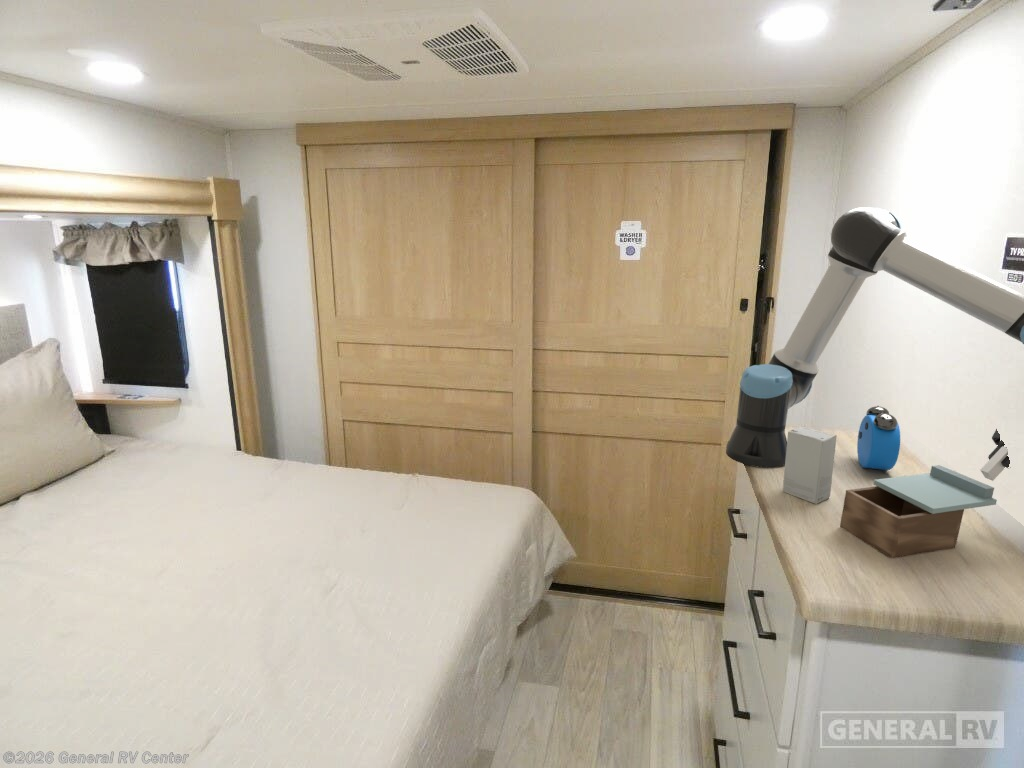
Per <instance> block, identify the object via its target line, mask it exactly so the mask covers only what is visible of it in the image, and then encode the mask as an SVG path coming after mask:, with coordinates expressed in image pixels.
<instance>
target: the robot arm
mask: <svg viewBox="0 0 1024 768" xmlns="http://www.w3.org/2000/svg"><path fill="white" fill-rule="evenodd" d="M830 242H831V245H832V246H831V249H830V250H829V252H828V254H827V259H828V261H829V266H828V268H827V269H826V271H825V273H824V275H823V277H822V278H821V280H820V282H819V284H818V286H817V287H816V289H815V290H814V293H813V295H812V296H811V298H810V301H809V303H808V304H807V306H806V308H805V310H804V311H803V313H802V315H801V316H800V318H799V321H798V322H797V324H796V326H795V327H794V329H793V331H792V333H791V334H790V337H789V339H788V340H787V342H786V344H785V345H784V347H783V348H782V349H778V350H775V351H774V352H773V355H772V357H771V358H770V360H769V362H768V363H767V364H766V363H763V364H754V365H751V366H749V367H746V368H745V370H744V371H742V375H741V378H740V382H739V384H740V387H739V395H738V396H739V397H738V405H737V414H736V415H737V416H736V424H735V427H734V429H733V431H732V433H731V436H730V437H729V440H728V442H727V443H726V449H725V453H726V456H727V457H728V458H730V459H731V460H733V461H735V462H737V463H740V464H744V465H746V466H751V467H756V466H758V468H780V467H785V459H786V449H787V436H786V427H787V419H788V411H789V409H790V408H792V407H793V406H795V405H797V404H799V403H801V402H802V401H803V400H805V399H806V398H807V397H808V395H809V393H810V392H811V389H812V387H813V381H814V380H815V378H816V376H817V374H818V373H819V366H818V365H817V363H818V361H819V359H820V357H821V355H822V353H824V350H825V349H826V347H827V345H828V343H829V342H830V340H831V338H832V336H833V335H834V333H835V332H836V330H837V328H838V327H839V325H840V323H841V321H842V320H843V317H844V316H845V315H846V313H847V311H848V310H849V307H850V306H851V304H852V302H853V301H854V299H855V298H856V296H857V294H858V293H859V291H860V289H861V287H862V285H863V284H864V282H865V280H866V279H867V278H869V277H872V276H876V275H877V273H879V272H880V271H884V272H886V273H887V274H890V275H891V276H894V277H896V278H898V279H899V280H901V281H903V282H905V283H907V284H909V285H911V286H913V287H915V288H917V289H919V290H920V291H922V292H924V293H927V294H928V295H930V296H932V297H933V298H937V299H938V300H940V301H942V302H944V303H946V304H948V305H950V306H952V307H954V308H955V309H958V310H960V311H961V312H964V313H965V314H968V315H969V316H971V317H974V318H975V319H977V320H979V321H981V322H983V323H985V324H987V325H989V326H990V327H993V328H995V329H997V330H998V331H1000V332H1002V333H1004V334H1006V335H1008V336H1009V337H1010V338H1013V339H1014V340H1017V341H1018V342H1020V343H1022V344H1023V345H1024V294H1023V293H1020V292H1019V291H1016V290H1015V289H1012V288H1010V287H1008V286H1006V285H1004V284H1002V283H1000V282H998V281H995V280H993V279H992V278H990V277H987V276H986V275H983V274H981V273H979V272H977V271H975V270H973V269H971V268H968V267H967V266H964V265H963V264H961V263H959V262H956V261H954V260H952V259H950V258H949V257H947V256H945V255H943V254H940V253H938V252H936V251H935V250H932V249H930V248H928V247H926V246H924V245H922V244H919V243H918V242H915V241H913V240H911V239H910V238H908V237H907V233H906V231H905V230H904V229H902V226H901V223H900V221H899V219H898V218H897V217H896V215H895V214H893V213H892V212H890V211H888V210H886V209H885V208H879V207H866V206H865V207H863V206H862V207H857V208H853V209H851V210H848V211H846V212H845V213H843V214H842V215H841V216H840V217H838V219H837V220H836V221H835V223H834V224H833V227H832V229H831V233H830ZM991 439H992V441H993V443H994V444H995V445H998V446H996V447H995V448H994V449H993V450H992V451H991V452H990V454H988V455H987V456H988V457H987V459H988V461H987V462H986V463H985V464H984V465H983V466H982V467H981V468H980V469H979V471H980V472H981V474H982V475H983V477H984V478H985V479H987V480H988V481H989V480H990V481H992V482H993V481H994V480H995V479H997V477H998V476H999V475H1000V474H1001V473H1002V472H1003V471H1004V470H1005V469H1006V468H1007V469H1009V468H1008V467H1009V464H1010V460H1009V457H1008V456H1007V455H1008V449H1007V447H1004V445H1005V444H1004V442H1003V441H1002V440H1001V441H1000V434H999V433H998V431H997V428H996V429H995V431H994V433H993V434H992V436H991ZM1005 467H1006V468H1005ZM1004 468H1005V469H1004Z"/></svg>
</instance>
